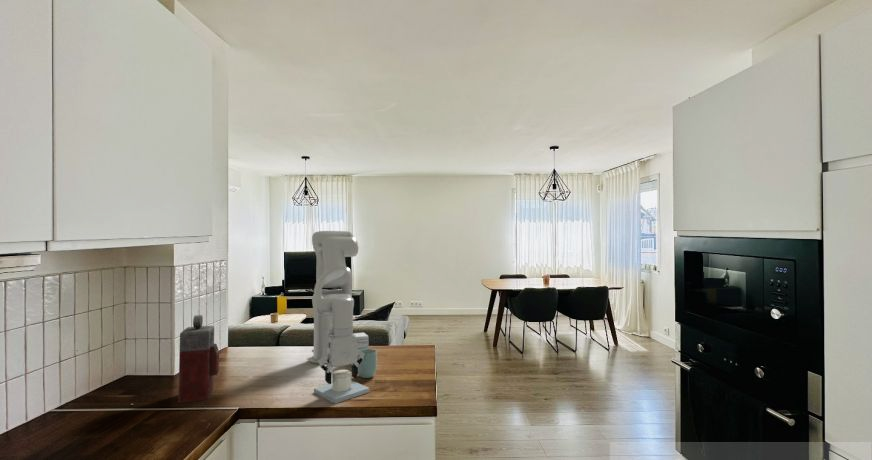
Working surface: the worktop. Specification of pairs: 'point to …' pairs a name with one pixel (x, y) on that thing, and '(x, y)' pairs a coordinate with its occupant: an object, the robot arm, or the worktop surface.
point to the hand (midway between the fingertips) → (341, 380)
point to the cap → (341, 380)
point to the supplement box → (361, 341)
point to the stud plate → (341, 392)
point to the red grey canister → (197, 361)
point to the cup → (368, 363)
